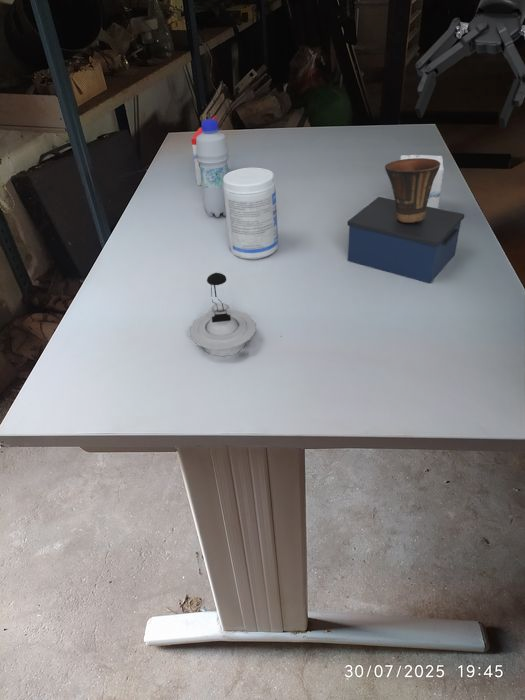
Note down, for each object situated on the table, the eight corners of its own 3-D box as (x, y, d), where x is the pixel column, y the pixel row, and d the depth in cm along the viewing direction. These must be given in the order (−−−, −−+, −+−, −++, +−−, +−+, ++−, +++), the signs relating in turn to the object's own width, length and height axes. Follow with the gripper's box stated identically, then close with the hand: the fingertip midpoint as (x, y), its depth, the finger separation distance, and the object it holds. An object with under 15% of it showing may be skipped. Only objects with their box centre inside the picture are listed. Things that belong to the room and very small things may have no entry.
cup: (398, 203, 101) (404, 148, 94) (441, 215, 95) (451, 158, 89) (370, 219, 96) (374, 162, 90) (414, 233, 91) (422, 174, 84)
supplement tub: (287, 252, 104) (285, 178, 95) (243, 266, 101) (236, 190, 92) (263, 234, 111) (259, 162, 102) (221, 246, 108) (213, 173, 99)
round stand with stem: (248, 252, 79) (179, 259, 78) (255, 287, 71) (179, 295, 71) (253, 320, 87) (191, 327, 86) (260, 359, 79) (192, 367, 78)
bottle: (220, 204, 124) (210, 113, 112) (239, 212, 120) (232, 118, 108) (197, 214, 121) (185, 120, 108) (217, 222, 117) (206, 126, 104)
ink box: (436, 226, 110) (445, 169, 103) (393, 224, 112) (399, 168, 104) (434, 208, 117) (442, 154, 109) (394, 207, 118) (399, 153, 111)
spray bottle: (204, 173, 141) (197, 114, 132) (222, 173, 140) (217, 114, 131) (196, 186, 134) (188, 124, 125) (216, 186, 133) (209, 124, 124)
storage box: (459, 254, 100) (466, 214, 95) (433, 285, 92) (440, 243, 87) (373, 234, 109) (376, 196, 104) (343, 260, 101) (345, 220, 96)
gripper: (428, -22, 90) (381, 96, 90) (595, -23, 78) (541, 113, 78) (436, 12, 96) (392, 121, 96) (590, 15, 84) (540, 140, 84)
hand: (458, 118), depth 87 cm, fingers open, 13 cm apart
